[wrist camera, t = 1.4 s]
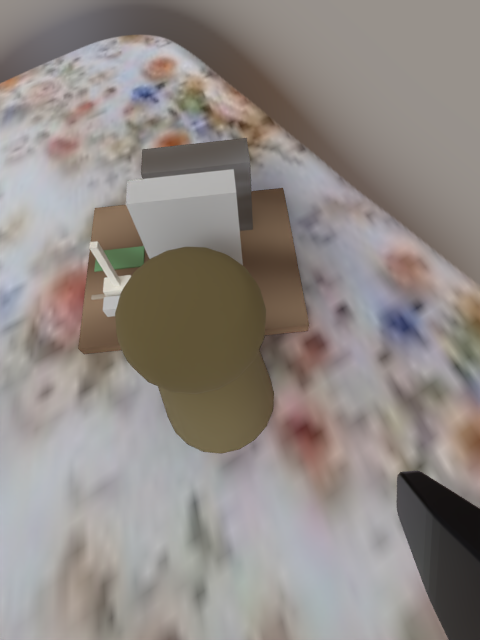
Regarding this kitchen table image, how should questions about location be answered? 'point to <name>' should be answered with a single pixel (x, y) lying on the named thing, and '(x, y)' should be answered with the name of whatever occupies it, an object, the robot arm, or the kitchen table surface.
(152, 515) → the kitchen table surface
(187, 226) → the block
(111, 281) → the pointer
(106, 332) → the board
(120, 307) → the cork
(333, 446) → the kitchen table surface
